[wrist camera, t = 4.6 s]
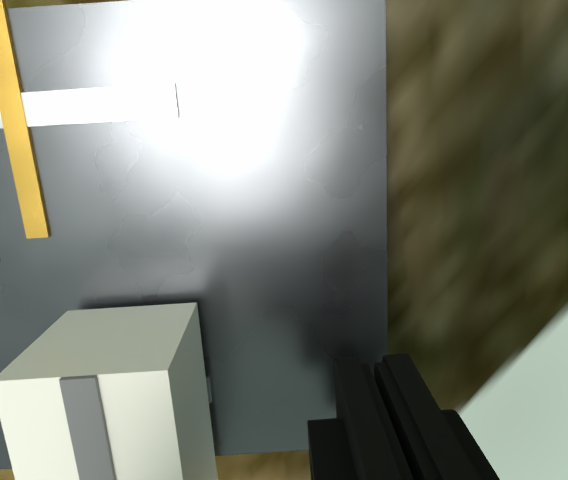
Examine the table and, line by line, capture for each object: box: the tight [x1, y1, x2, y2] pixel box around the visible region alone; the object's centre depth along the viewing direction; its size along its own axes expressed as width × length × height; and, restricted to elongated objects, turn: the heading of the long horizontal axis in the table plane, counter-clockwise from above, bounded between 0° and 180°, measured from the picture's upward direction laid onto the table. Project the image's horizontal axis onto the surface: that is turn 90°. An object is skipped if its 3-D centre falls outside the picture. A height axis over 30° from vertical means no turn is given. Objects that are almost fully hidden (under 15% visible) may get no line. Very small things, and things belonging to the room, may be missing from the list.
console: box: [0, 0, 388, 469], centre depth 12 cm, size 18×13×3 cm
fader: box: [0, 302, 218, 480], centre depth 10 cm, size 3×5×3 cm, turn 4°
